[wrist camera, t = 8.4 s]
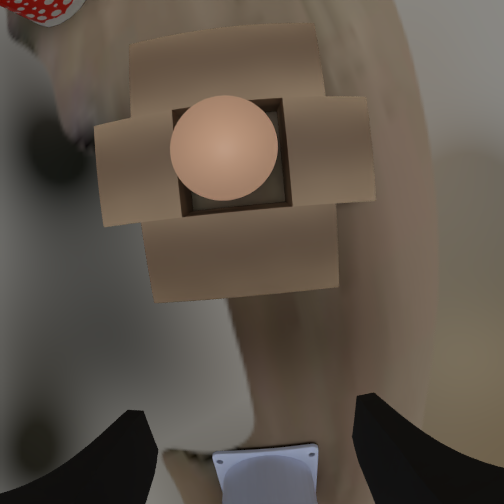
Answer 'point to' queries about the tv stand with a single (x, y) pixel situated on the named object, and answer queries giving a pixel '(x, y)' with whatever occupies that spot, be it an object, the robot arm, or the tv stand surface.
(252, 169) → the peg
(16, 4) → the beverage cup
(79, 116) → the tv stand surface
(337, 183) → the socket block
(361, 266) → the tv stand surface
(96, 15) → the tv stand surface
